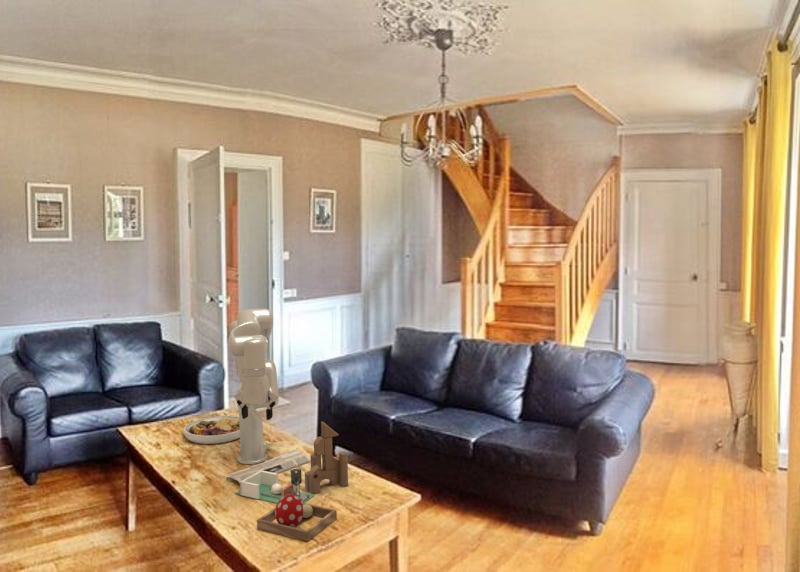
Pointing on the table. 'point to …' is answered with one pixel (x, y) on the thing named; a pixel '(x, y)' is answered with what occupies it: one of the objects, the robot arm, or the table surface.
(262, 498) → the green railed board
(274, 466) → the newspaper
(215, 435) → the bowl
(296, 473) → the knobbed pusher
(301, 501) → the rail
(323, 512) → the display tray
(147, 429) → the table surface
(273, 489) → the ball
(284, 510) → the decorative mushroom
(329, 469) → the wooden toy
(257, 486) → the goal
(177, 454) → the table surface
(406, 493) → the table surface
